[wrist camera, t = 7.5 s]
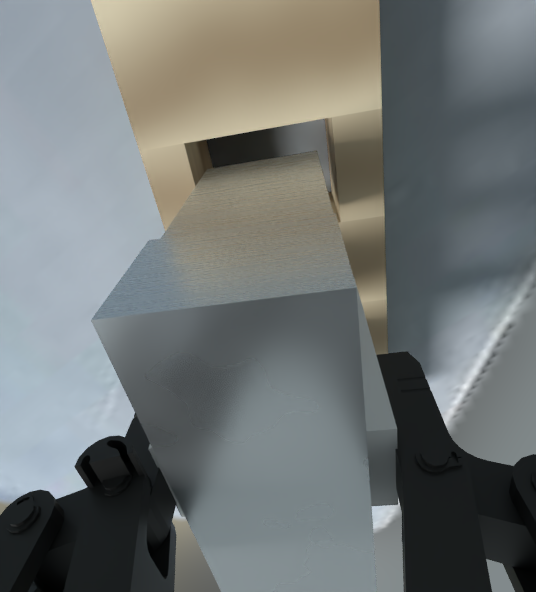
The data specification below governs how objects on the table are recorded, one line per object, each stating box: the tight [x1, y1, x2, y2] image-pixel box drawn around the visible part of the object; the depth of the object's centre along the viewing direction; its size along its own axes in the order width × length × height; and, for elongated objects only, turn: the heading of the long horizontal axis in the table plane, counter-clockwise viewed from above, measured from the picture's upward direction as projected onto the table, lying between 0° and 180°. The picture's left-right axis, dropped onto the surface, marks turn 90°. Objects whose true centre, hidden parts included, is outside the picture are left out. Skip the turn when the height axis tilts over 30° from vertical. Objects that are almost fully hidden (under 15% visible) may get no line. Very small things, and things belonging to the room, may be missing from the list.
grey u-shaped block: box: [91, 151, 377, 592], centre depth 13 cm, size 11×4×10 cm, turn 10°
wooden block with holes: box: [91, 0, 388, 355], centre depth 20 cm, size 22×9×4 cm, turn 10°
